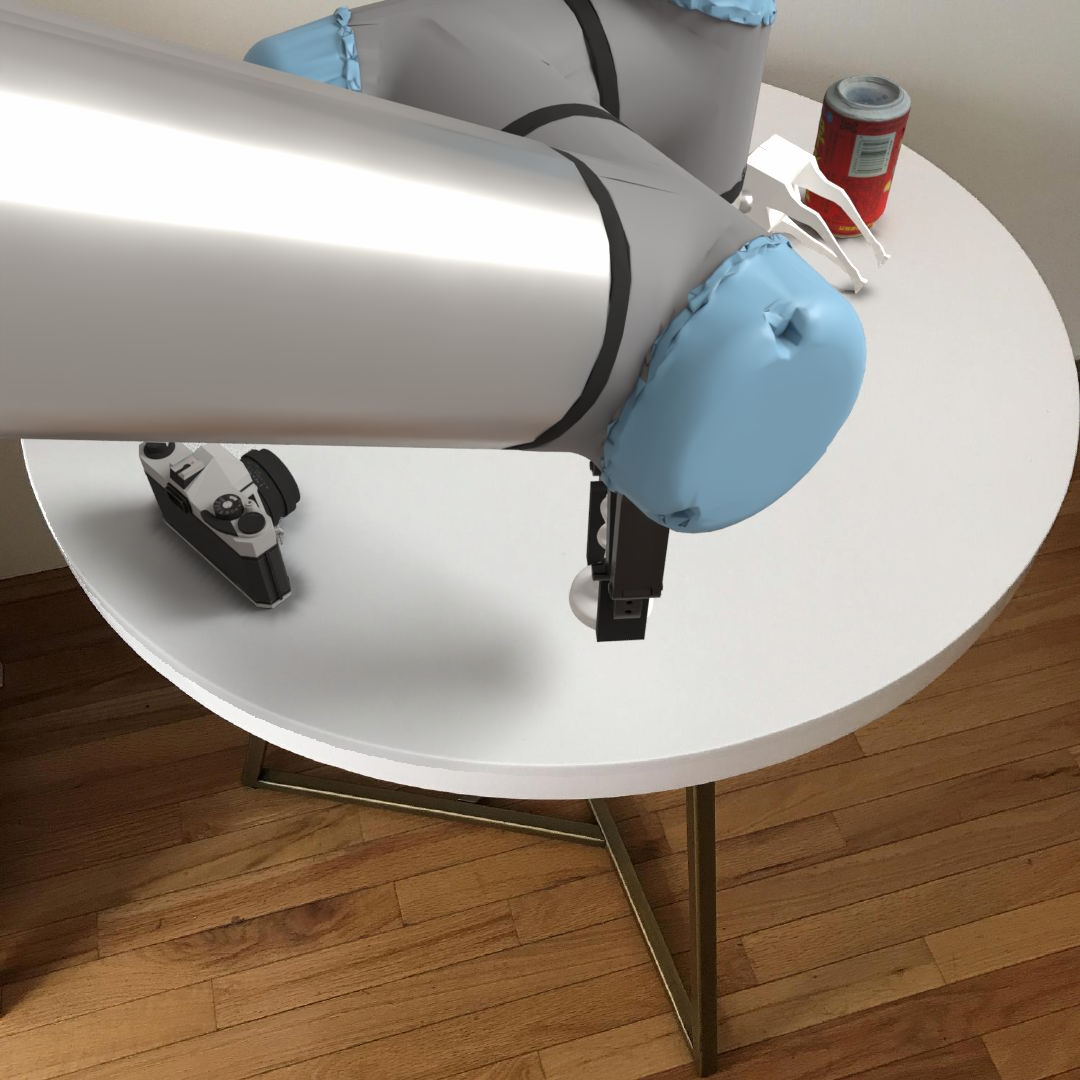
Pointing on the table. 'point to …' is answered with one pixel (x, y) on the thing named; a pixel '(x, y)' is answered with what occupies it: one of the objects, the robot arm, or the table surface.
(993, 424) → the table surface
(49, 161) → the robot arm
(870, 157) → the soda can
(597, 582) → the chess piece
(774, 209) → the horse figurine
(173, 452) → the camera
